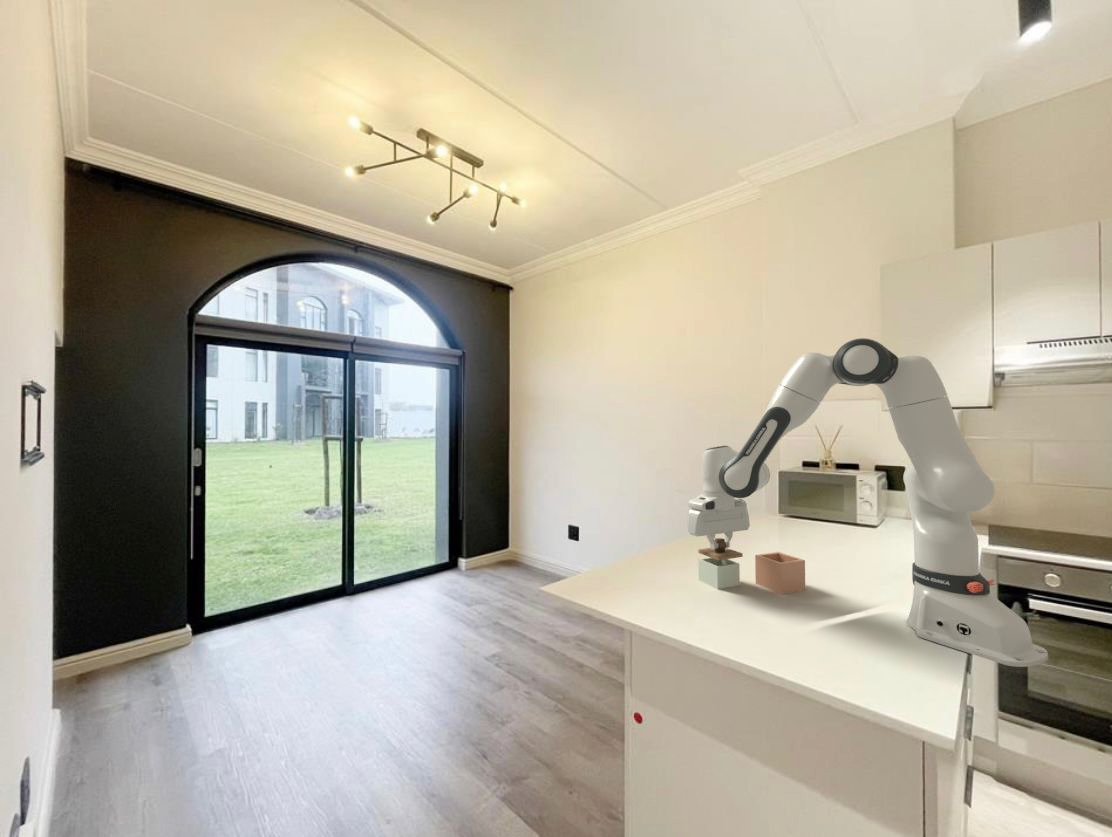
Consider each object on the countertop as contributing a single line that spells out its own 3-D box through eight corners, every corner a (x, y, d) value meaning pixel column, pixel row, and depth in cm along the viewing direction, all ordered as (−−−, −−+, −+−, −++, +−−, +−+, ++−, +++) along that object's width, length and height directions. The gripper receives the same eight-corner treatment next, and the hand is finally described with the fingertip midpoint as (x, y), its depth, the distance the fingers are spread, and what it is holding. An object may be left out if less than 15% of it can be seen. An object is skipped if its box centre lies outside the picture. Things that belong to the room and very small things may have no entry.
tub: (739, 588, 127) (739, 563, 127) (717, 591, 124) (717, 567, 124) (720, 579, 134) (719, 556, 135) (698, 582, 132) (698, 559, 132)
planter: (805, 592, 123) (804, 560, 124) (781, 597, 120) (781, 563, 120) (778, 581, 132) (778, 551, 132) (755, 586, 128) (755, 555, 129)
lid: (742, 556, 127) (742, 541, 127) (718, 560, 124) (718, 544, 124) (721, 549, 135) (720, 534, 135) (698, 552, 132) (698, 537, 132)
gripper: (738, 496, 136) (739, 541, 136) (683, 502, 129) (684, 549, 129) (753, 499, 131) (755, 546, 130) (697, 505, 123) (699, 555, 123)
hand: (720, 548), depth 129 cm, fingers closed on lid, 3 cm apart
